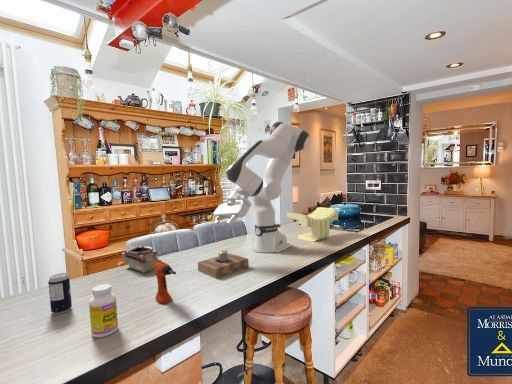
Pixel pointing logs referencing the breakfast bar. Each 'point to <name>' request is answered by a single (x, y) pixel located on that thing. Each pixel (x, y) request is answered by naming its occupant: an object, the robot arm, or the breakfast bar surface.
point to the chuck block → (222, 266)
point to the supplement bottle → (103, 311)
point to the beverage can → (60, 293)
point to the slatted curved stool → (316, 223)
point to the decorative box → (141, 258)
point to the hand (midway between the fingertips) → (222, 224)
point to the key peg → (223, 256)
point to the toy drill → (162, 281)
